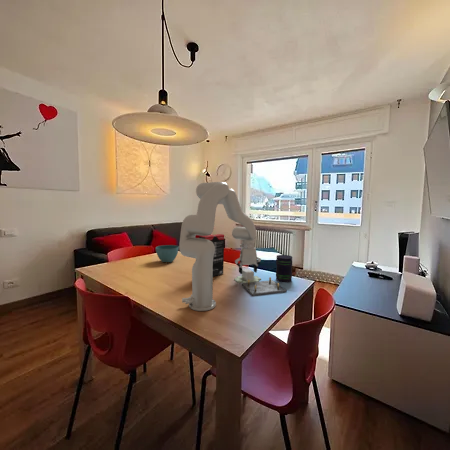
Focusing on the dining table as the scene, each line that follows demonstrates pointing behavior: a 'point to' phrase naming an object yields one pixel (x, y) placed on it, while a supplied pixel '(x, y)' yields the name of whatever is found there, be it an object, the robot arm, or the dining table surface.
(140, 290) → the dining table surface
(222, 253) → the graphics card box
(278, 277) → the storage jar
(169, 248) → the teal bowl
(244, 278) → the board
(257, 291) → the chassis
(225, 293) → the dining table surface
